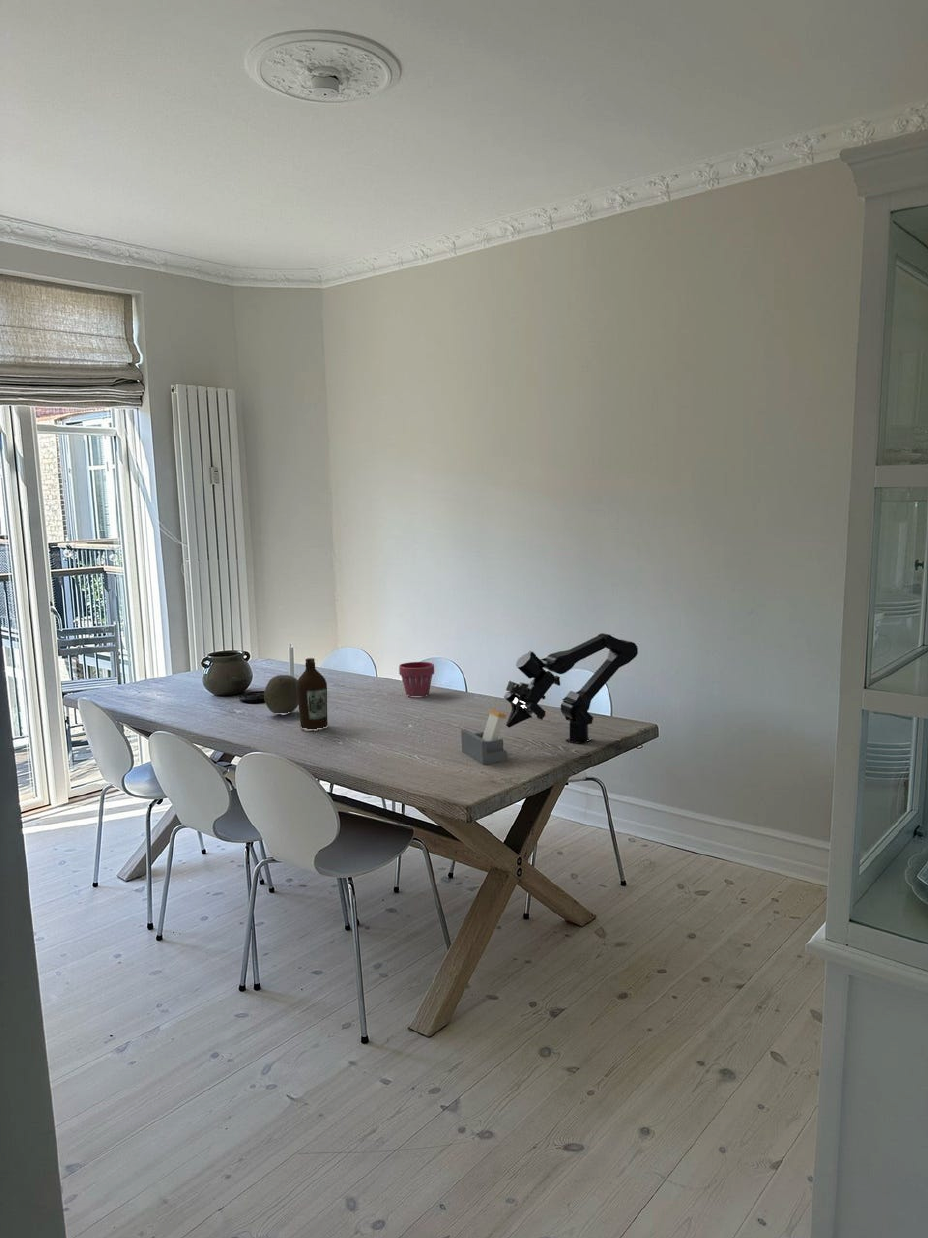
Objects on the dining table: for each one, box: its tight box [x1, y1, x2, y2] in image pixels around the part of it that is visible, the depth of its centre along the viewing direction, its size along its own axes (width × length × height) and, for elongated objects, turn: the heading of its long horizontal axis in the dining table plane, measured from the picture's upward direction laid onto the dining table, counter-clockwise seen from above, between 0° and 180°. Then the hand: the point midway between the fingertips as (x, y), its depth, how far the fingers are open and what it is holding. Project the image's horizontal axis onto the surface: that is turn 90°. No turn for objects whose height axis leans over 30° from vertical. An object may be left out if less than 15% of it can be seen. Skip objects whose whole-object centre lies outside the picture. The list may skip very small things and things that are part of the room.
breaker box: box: [460, 728, 508, 765], centre depth 266 cm, size 8×16×7 cm, turn 23°
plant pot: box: [398, 661, 435, 697], centre depth 353 cm, size 14×14×13 cm
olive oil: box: [296, 657, 329, 729], centre depth 306 cm, size 11×11×25 cm
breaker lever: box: [482, 708, 507, 741], centre depth 267 cm, size 3×7×10 cm, turn 22°
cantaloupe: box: [263, 674, 299, 714], centre depth 330 cm, size 14×14×15 cm
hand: (507, 726), depth 269 cm, fingers closed
